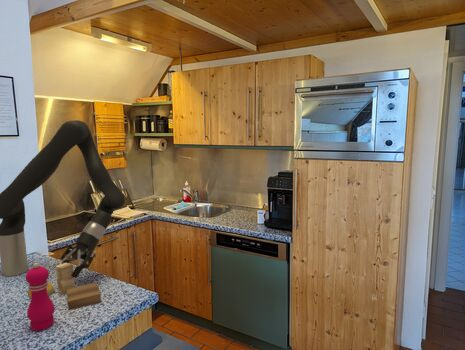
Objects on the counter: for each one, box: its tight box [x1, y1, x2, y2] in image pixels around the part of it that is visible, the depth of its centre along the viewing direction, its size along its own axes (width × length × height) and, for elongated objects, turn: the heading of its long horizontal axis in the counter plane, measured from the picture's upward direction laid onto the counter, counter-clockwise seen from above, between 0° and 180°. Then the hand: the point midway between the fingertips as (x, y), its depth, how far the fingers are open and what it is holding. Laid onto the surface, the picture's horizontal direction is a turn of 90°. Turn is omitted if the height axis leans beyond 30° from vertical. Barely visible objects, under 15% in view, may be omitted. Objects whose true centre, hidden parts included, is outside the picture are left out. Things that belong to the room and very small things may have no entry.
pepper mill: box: [25, 262, 56, 332], centre depth 100 cm, size 7×7×20 cm
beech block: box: [55, 263, 76, 295], centre depth 122 cm, size 4×4×10 cm
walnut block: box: [66, 281, 102, 311], centre depth 116 cm, size 10×10×3 cm
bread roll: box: [27, 281, 56, 299], centre depth 121 cm, size 8×9×4 cm
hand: (66, 274), depth 122 cm, fingers open, 8 cm apart
